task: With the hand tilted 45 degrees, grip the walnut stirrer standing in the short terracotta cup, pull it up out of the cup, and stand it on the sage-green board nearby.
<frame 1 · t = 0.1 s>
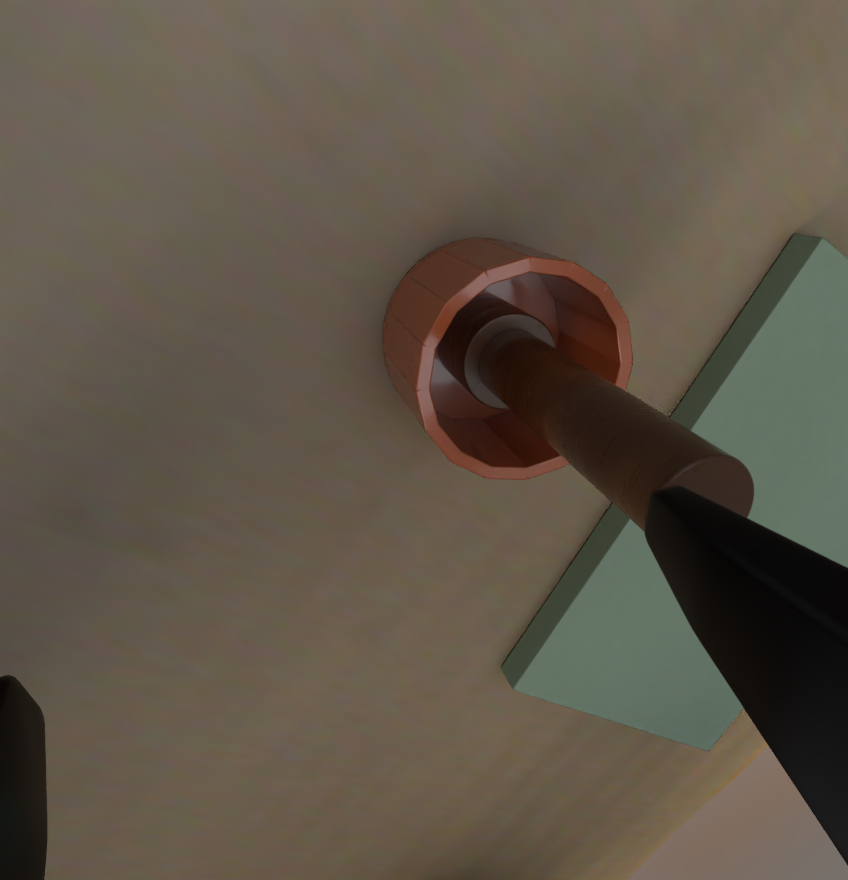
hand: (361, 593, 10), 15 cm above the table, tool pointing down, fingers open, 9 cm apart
cup: (474, 335, 25), on the table
board: (735, 519, 32), on the table
stirrer: (480, 339, 25), point 1 cm above the table, touching cup
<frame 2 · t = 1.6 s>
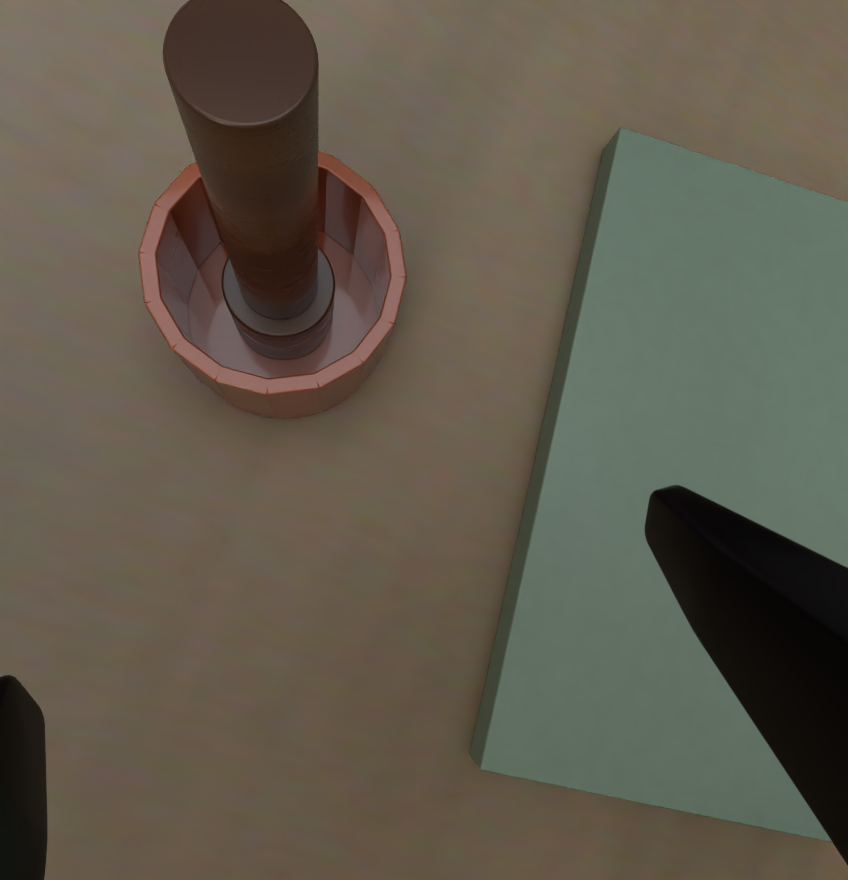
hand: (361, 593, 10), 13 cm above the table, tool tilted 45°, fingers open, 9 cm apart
cup: (284, 317, 23), on the table
board: (709, 477, 25), on the table
stirrer: (283, 312, 23), point 1 cm above the table, touching cup
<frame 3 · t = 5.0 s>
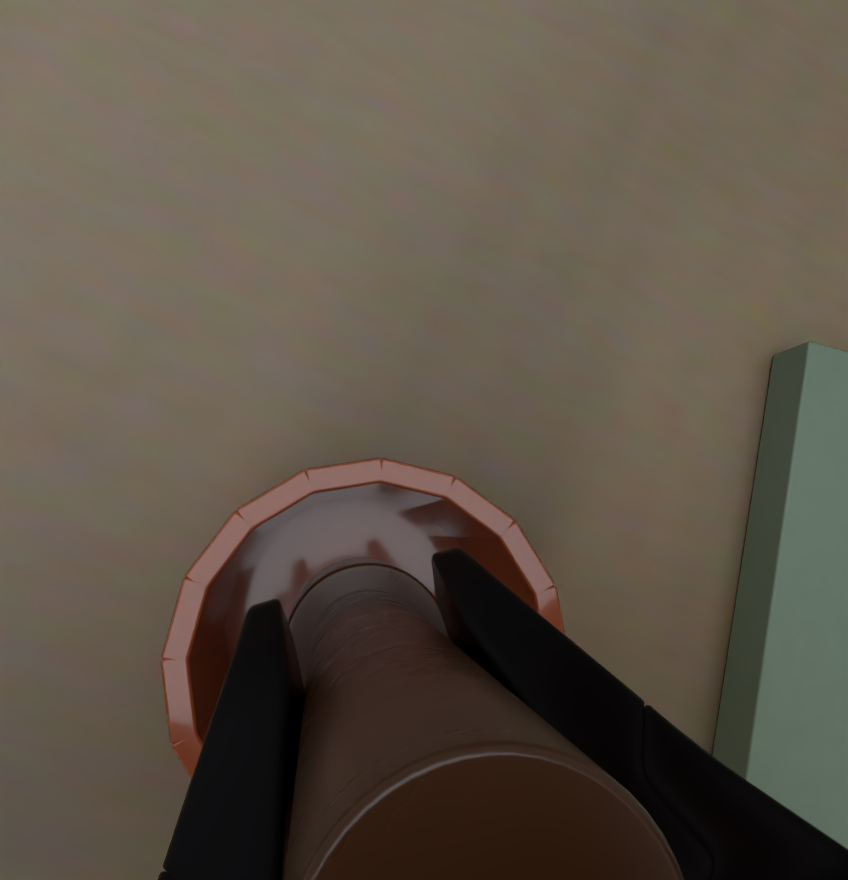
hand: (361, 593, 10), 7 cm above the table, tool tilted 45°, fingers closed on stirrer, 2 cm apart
cup: (358, 623, 17), on the table
stirrer: (359, 626, 16), point 1 cm above the table, touching cup, gripper
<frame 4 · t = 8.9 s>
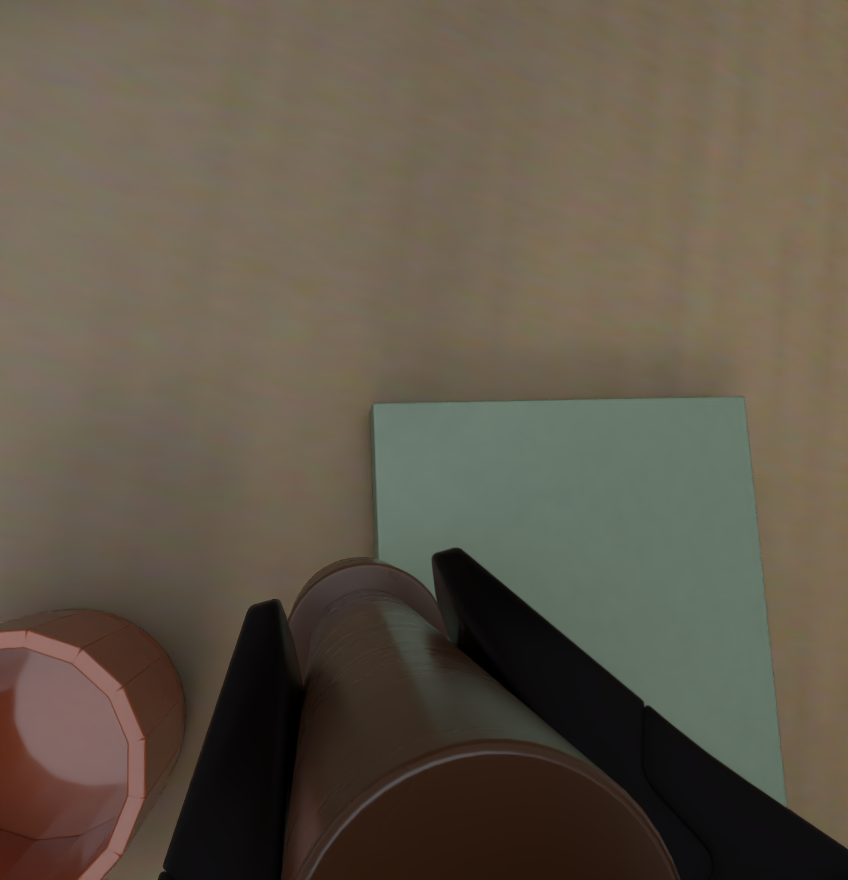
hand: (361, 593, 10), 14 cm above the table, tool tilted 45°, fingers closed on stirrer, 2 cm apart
cup: (68, 724, 21), on the table
board: (574, 729, 23), on the table
stirrer: (359, 626, 16), point 7 cm above the table, touching gripper
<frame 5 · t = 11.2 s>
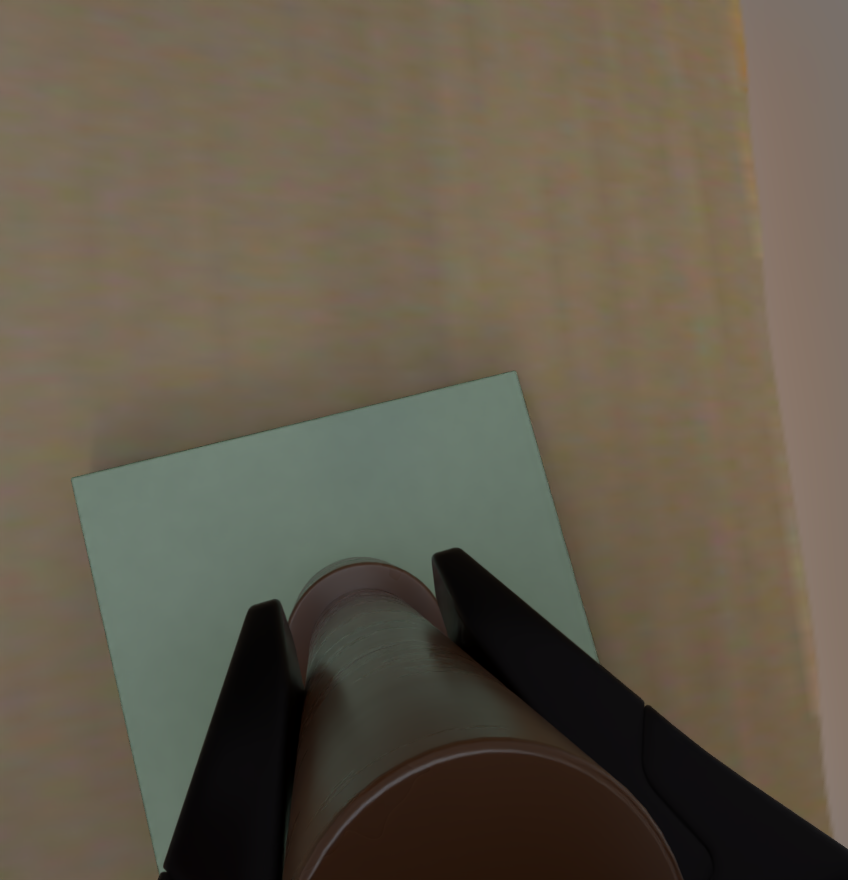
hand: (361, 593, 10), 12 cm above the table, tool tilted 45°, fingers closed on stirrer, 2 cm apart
board: (398, 786, 20), on the table
stirrer: (359, 626, 16), point 5 cm above the table, touching gripper
when the fingers open (8 cm above the table, at t = 12.6 s): stirrer stays where it is, resting on board.
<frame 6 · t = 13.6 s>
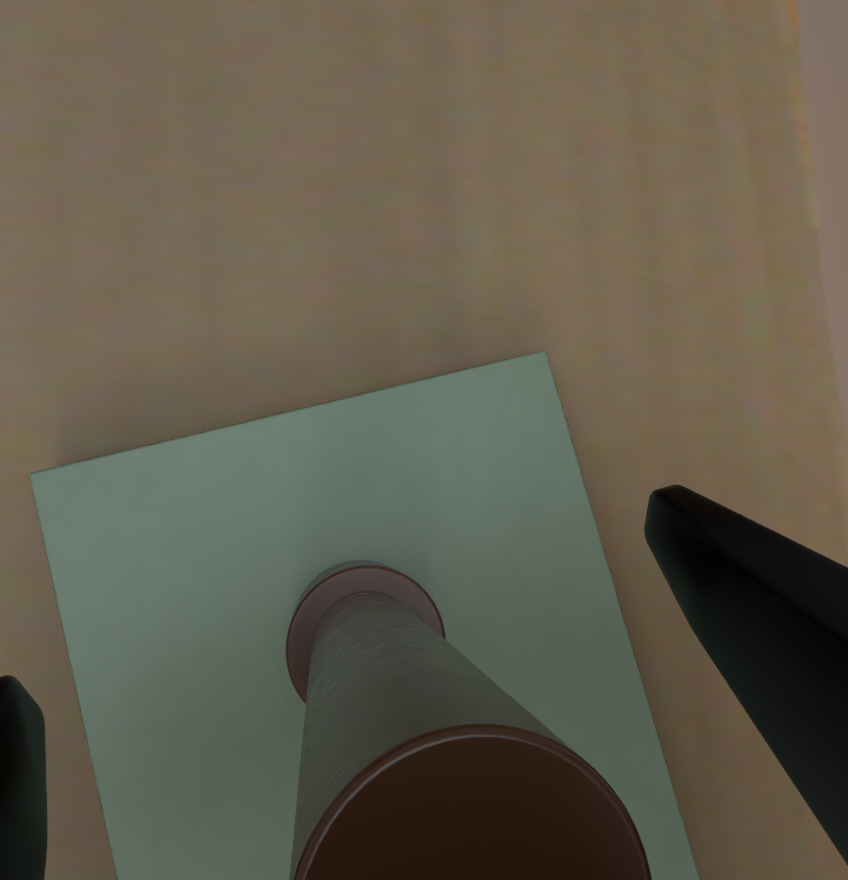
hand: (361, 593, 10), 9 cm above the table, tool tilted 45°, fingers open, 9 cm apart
board: (411, 831, 18), on the table
stirrer: (359, 627, 17), point 1 cm above the table, touching board
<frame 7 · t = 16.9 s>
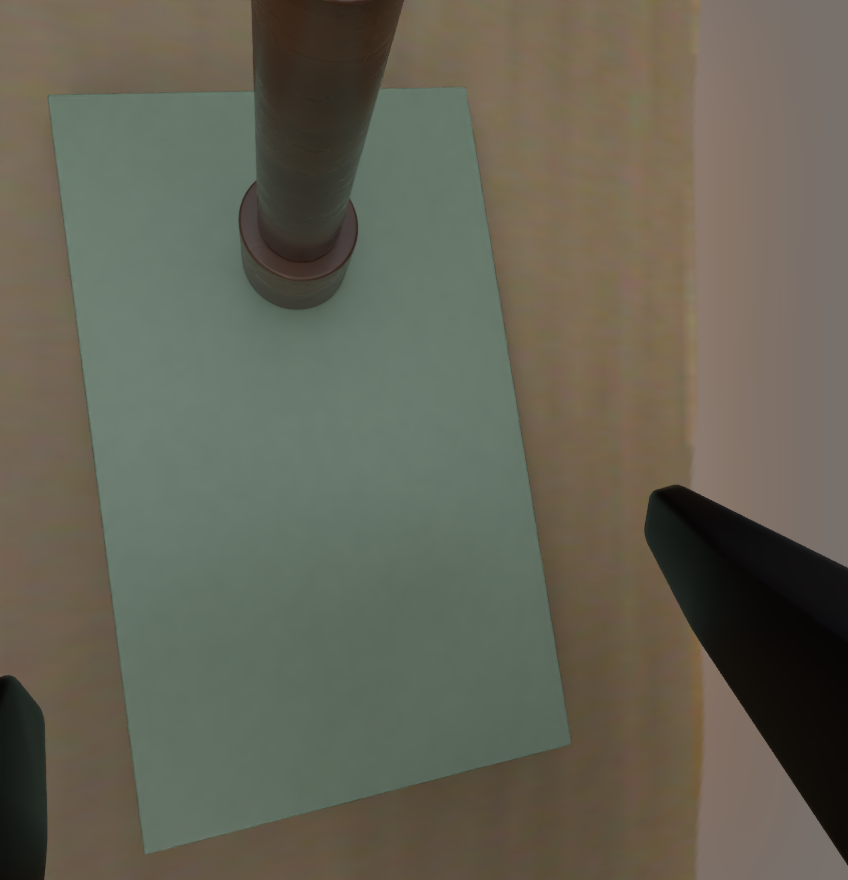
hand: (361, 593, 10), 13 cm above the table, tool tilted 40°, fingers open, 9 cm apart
board: (317, 437, 23), on the table
stirrer: (295, 260, 22), point 1 cm above the table, touching board
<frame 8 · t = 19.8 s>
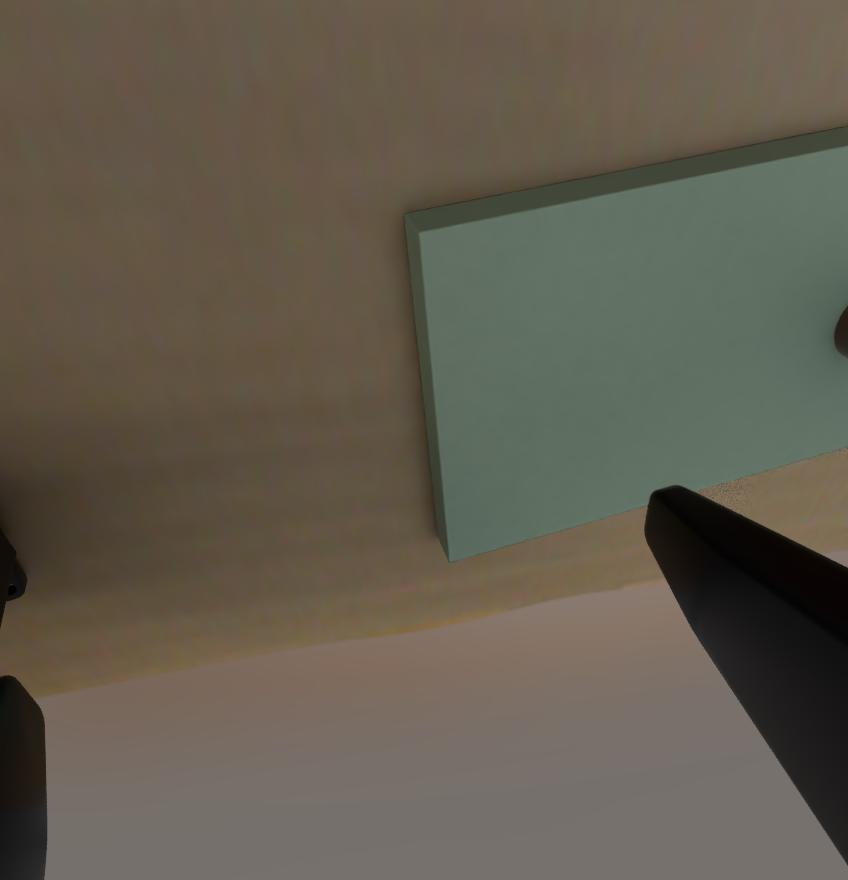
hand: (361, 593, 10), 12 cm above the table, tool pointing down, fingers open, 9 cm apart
board: (713, 331, 25), on the table
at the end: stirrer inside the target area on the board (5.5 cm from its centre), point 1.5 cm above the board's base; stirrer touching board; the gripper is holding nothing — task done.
